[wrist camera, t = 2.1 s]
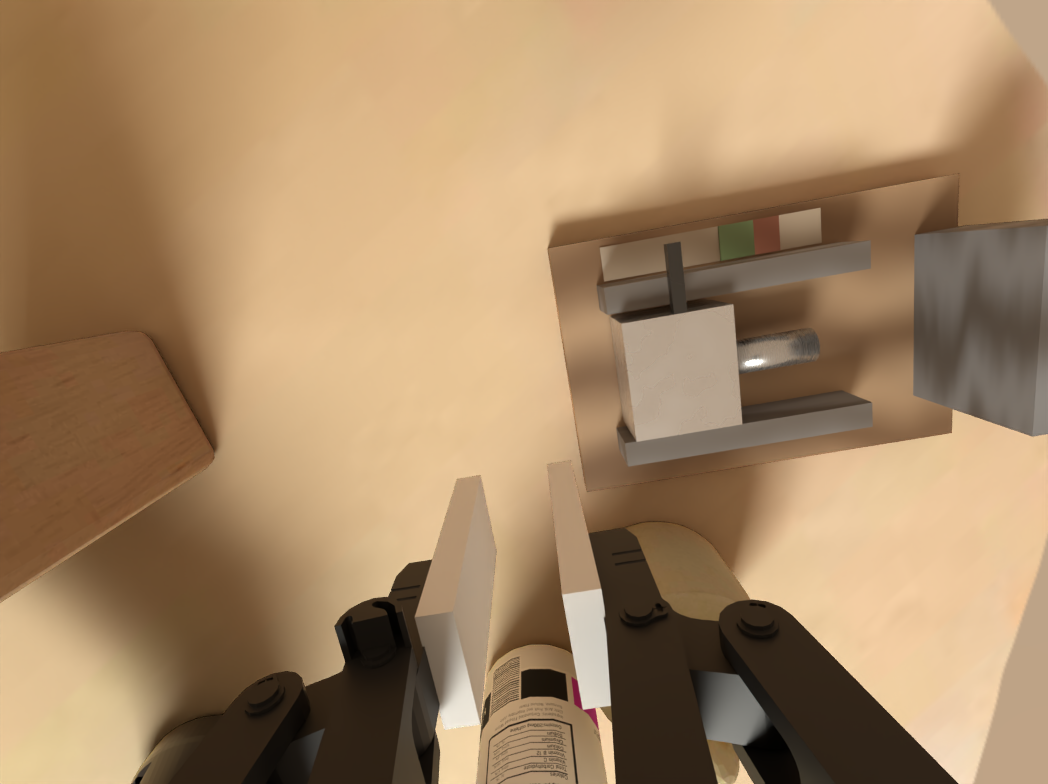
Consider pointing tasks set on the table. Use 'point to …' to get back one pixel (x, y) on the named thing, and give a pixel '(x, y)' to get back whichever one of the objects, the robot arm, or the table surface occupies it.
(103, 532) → the block
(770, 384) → the gauge bed
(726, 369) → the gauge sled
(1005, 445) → the table surface
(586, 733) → the supplement can
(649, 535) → the sugar bowl
